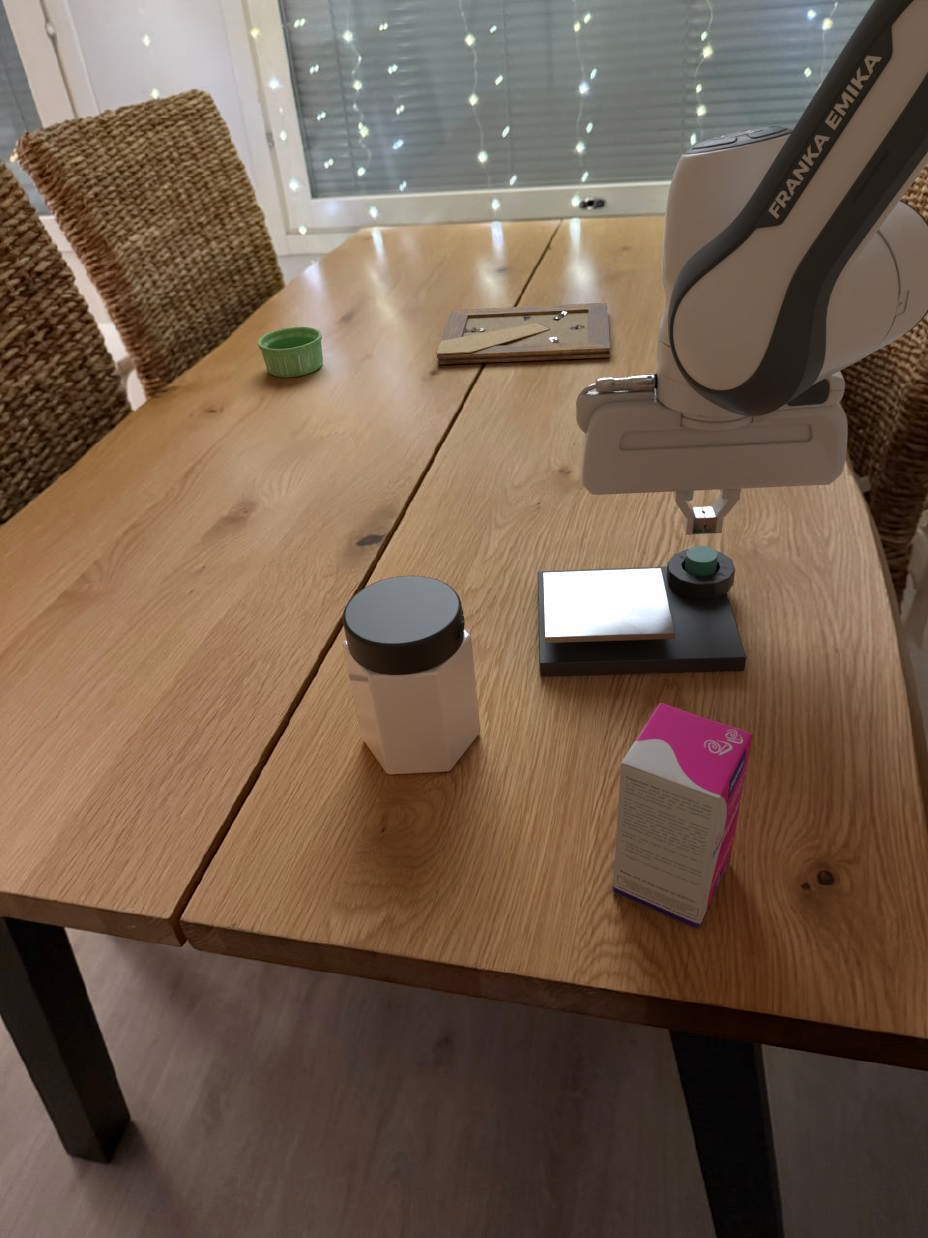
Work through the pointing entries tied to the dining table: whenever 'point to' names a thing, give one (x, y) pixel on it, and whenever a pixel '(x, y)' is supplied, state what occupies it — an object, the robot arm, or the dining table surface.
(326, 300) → the dining table surface
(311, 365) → the ramekin
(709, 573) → the tare button
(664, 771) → the supplement box
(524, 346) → the picture frame
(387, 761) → the jar
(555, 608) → the scale pan
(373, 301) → the dining table surface
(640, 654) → the scale
